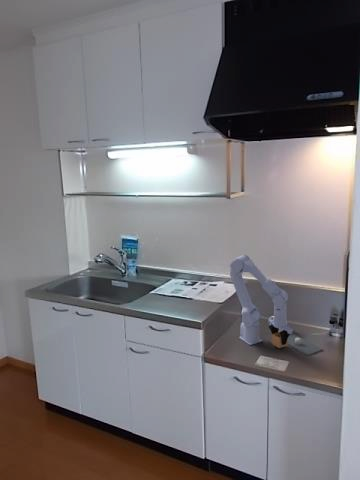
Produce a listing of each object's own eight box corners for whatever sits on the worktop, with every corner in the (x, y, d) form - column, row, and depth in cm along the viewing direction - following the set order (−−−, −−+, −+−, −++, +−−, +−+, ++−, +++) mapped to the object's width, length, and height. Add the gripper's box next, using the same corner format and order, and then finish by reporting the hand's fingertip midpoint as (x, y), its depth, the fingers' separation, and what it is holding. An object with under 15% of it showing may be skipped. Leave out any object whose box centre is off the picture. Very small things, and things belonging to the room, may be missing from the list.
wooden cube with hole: (271, 343, 185) (271, 334, 184) (279, 340, 188) (280, 331, 187) (279, 348, 181) (279, 338, 180) (287, 345, 183) (287, 335, 182)
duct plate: (277, 339, 193) (277, 333, 192) (292, 334, 197) (292, 328, 197) (307, 356, 175) (307, 349, 175) (322, 350, 180) (322, 344, 179)
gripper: (297, 319, 177) (296, 345, 179) (276, 308, 189) (275, 333, 192) (286, 322, 173) (285, 349, 176) (265, 312, 186) (264, 337, 189)
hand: (279, 341), depth 184 cm, fingers closed on wooden cube with hole, 5 cm apart
